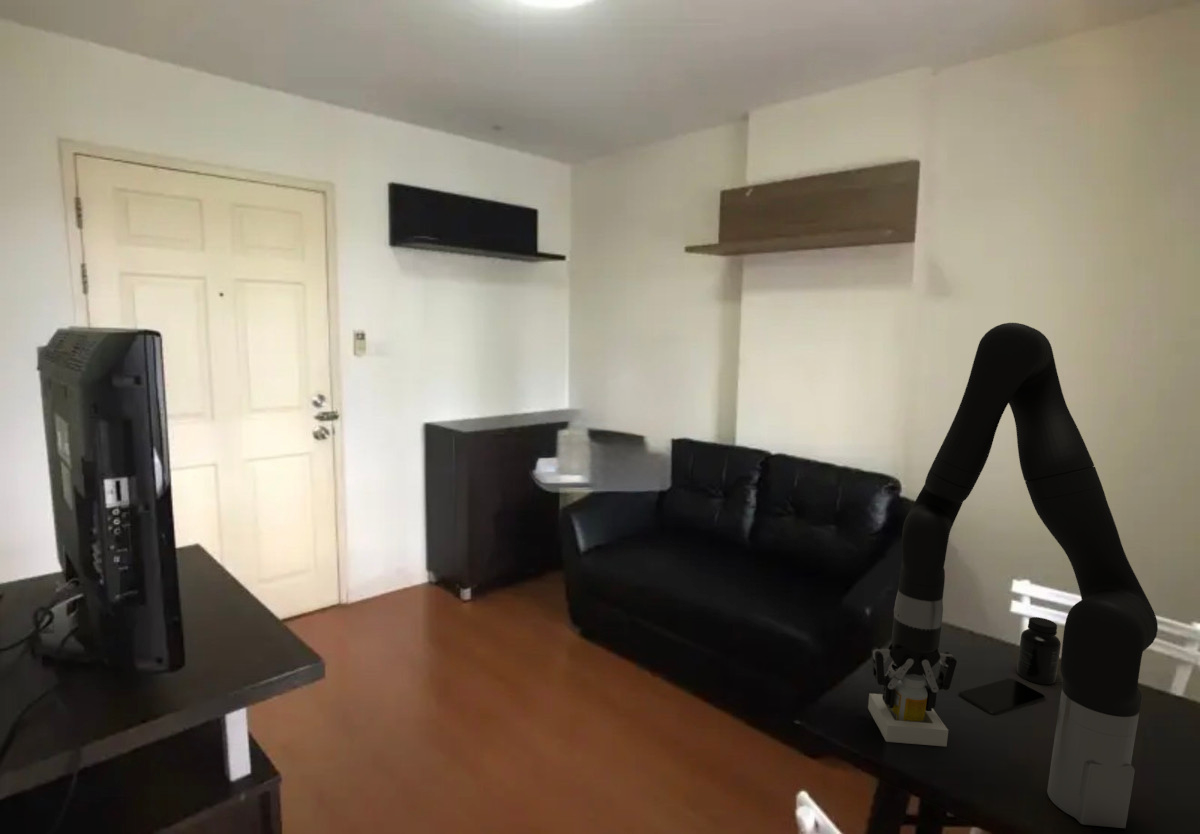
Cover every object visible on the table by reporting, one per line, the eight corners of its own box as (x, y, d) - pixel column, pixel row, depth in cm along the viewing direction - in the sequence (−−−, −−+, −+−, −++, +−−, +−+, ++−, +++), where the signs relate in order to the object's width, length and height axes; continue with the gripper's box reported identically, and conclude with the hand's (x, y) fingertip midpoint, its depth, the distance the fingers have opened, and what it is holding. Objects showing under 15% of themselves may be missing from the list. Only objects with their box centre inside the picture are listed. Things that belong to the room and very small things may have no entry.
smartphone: (992, 718, 123) (1048, 701, 130) (993, 714, 123) (1049, 696, 129) (954, 696, 130) (1009, 680, 137) (955, 691, 130) (1010, 676, 137)
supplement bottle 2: (1045, 670, 141) (1052, 616, 139) (1062, 687, 134) (1070, 631, 132) (1010, 666, 142) (1017, 613, 140) (1025, 683, 135) (1033, 627, 133)
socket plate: (946, 746, 114) (948, 730, 113) (886, 741, 114) (887, 725, 114) (923, 712, 124) (925, 697, 123) (868, 708, 124) (869, 693, 124)
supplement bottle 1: (884, 722, 119) (890, 672, 118) (899, 712, 123) (905, 663, 121) (914, 738, 115) (920, 686, 114) (928, 727, 119) (935, 676, 117)
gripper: (882, 624, 113) (873, 716, 115) (970, 630, 112) (959, 723, 114) (868, 606, 120) (860, 692, 123) (951, 611, 119) (941, 698, 122)
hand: (908, 706), depth 118 cm, fingers open, 6 cm apart
